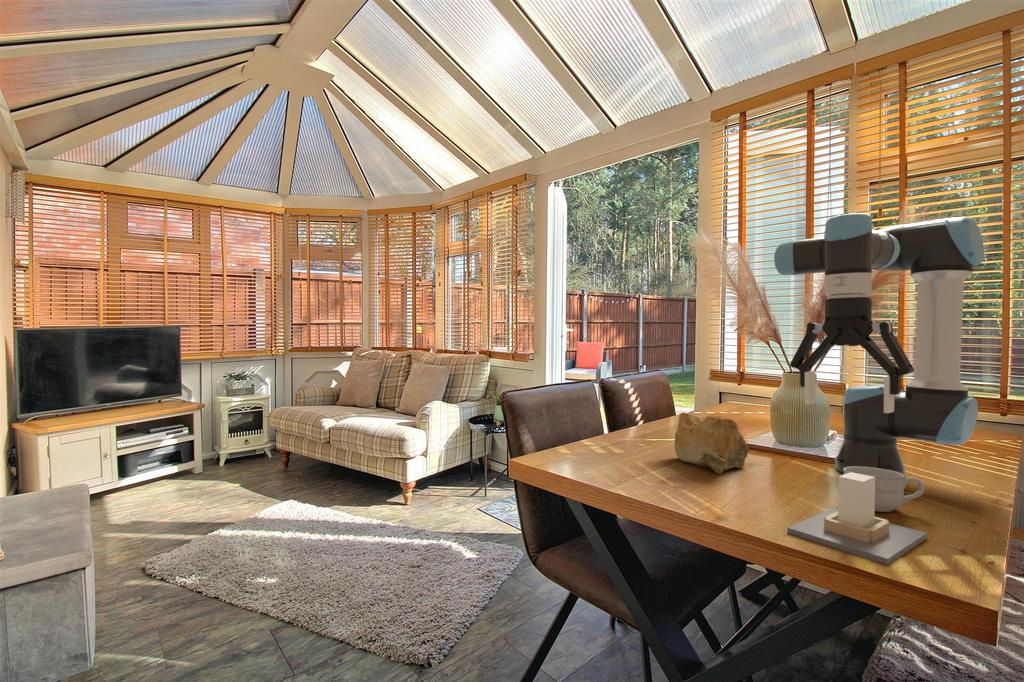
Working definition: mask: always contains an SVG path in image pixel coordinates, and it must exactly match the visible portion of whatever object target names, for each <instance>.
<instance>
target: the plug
mask: <svg viewBox="0 0 1024 682" xmlns="http://www.w3.org/2000/svg"><path fill="white" fill-rule="evenodd" d="M837 510H838V521H840V522H843V523H847V524H850V525H854V526H858V527H861V528H865V529H868V528H870V527H872V526H874V517H875V512H876V511H875V477H873V476H868V475H863V474H858V473H853V472H850V473H847V474H844V473H843V474H841V475H839V476H838V508H837Z"/></svg>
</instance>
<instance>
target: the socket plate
mask: <svg viewBox="0 0 1024 682" xmlns="http://www.w3.org/2000/svg"><path fill="white" fill-rule="evenodd" d="M786 528H787V532H786V533H787V534H790V535H794V536H797V537H799V538H802V539H806V540H809V541H811V542H814V543H817V544H821V545H824V546H826V547H827V546H828V547H830V548H834V549H836V550H837V549H838V550H840V551H843V552H845V553H850V554H852V555H856V556H859V557H861V558H864V559H868V560H871V561H874V562H876V563H880V564H884V565H886V566H888V565H890V563H893V562H894V561H895V560H897V559H898V558H900V557H901V556H903V555H905V554H906V553H909V551H911V550H912V549H914V548H915V547H917V546H919V545H920V544H921V543H923V542H924V541H926V540H927V539H928V533H927V532H924V531H920V530H917V529H912V528H909V527H905V526H901V525H898V524H894V523H890V521H889V520H888V519H885V518H882V517H878V516H874V526H872V527H870V528H868V529H865V528H861V527H858V526H854V525H850V524H847V523H843V522H840V521H838V508H832V507H831V508H829V509H827V510H824V511H823V512H820V513H817V514H815V515H813V516H811V517H808V518H807V519H806V518H805V519H804V520H801V521H798V522H797V523H795V524H793V525H790V526H788V527H786Z"/></svg>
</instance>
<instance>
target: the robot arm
mask: <svg viewBox="0 0 1024 682" xmlns="http://www.w3.org/2000/svg"><path fill="white" fill-rule="evenodd" d="M976 222H977V221H975V220H974V219H972V217H968V216H959V217H958V216H957V217H945V218H940V219H939V218H938V219H934V220H929V221H928V220H927V221H921V222H916V223H909V224H899V225H898V224H897V225H894V226H890V227H885V228H881V229H877V230H874V225H873V220H872V216H871V215H870V214H868V213H865V212H864V213H863V212H859V213H858V212H857V213H847V214H846V213H845V214H840V215H839V214H838V215H836V216H832V217H830V218H829V219H827V220H826V222H825V226H824V227H825V228H824V235H823V237H815V238H809V239H801V240H791V241H787V242H783V243H780V244H779V245H778V246H777V247H776V249H775V251H774V255H773V256H774V258H773V259H774V260H773V261H774V262H773V263H774V267H775V269H776V271H777V273H779V274H780V275H782V276H798V275H806V274H807V275H808V274H809V275H810V274H818V273H824V296H826V297H827V298H826V299H825V300H824V322H823V323H818V322H808V323H807V324H806V332H805V335H804V337H803V339H802V341H801V342H800V344H799V346H798V348H797V350H796V352H795V353H794V356H793V358H792V360H791V361H790V362H789V366H790V367H791V368H794V369H796V370H798V371H799V375H800V377H799V379H800V381H799V383H800V384H799V385H800V387H803V388H804V405H812V404H816V395H815V394H816V388H815V387H816V371H815V370H814V371H813V370H812V368H813V367H814V366H815V365H816V364H817V363H818V362H819V361H821V358H823V357H824V356H825V355H826V354H827V353H828V352H829V351H830V350H831V348H833V347H834V346H836V347H837V346H838V347H839V346H849V347H859V346H860V347H861V348H862V349H864V350H865V351H866V352H867V353H868V354H869V356H870V357H872V358H873V359H874V360H875V362H876V363H877V364H878V365H879V366H881V368H882V369H883V370H884V371H885V372H886V373H887V374H888V375H887V376H883V384H880V385H879V384H878V385H877V384H876V385H863V386H852V387H849V388H847V389H846V390H845V391H844V397H843V403H842V404H843V442H842V444H841V446H840V449H839V450H838V454H837V456H836V458H835V469H836V470H837V471H838V472H840V473H842V474H844V471H843V468H845V467H853V466H855V467H873V468H880V469H886V470H891V471H895V472H899V473H901V474H903V475H904V479H905V478H906V467H905V465H904V462H903V460H902V456H901V453H900V451H899V449H898V438H900V439H908V440H913V441H922V442H929V443H935V444H937V445H951V446H962V445H963V444H966V442H967V441H968V440H970V438H971V436H972V434H973V432H974V429H975V427H976V423H977V419H978V414H979V407H978V406H979V404H978V400H977V399H976V398H974V397H973V396H969V388H967V387H966V386H965V385H964V384H963V383H961V359H962V337H963V336H962V334H963V312H964V311H963V309H964V307H963V305H964V285H965V284H964V283H965V281H966V279H968V278H969V277H971V276H972V275H973V268H974V267H977V266H979V265H981V264H982V263H983V262H984V257H985V248H984V241H983V237H982V233H981V230H980V228H979V225H978V223H976ZM872 271H884V272H885V271H886V272H899V271H901V272H903V271H905V272H906V271H910V278H912V279H913V280H915V282H916V283H917V293H916V294H917V296H916V297H917V298H916V301H917V302H916V321H915V322H916V323H915V345H914V346H915V348H914V349H915V353H914V367H913V365H912V363H911V362H910V360H909V357H908V356H907V355H906V353H905V351H904V349H903V347H902V346H901V344H900V342H899V341H898V339H897V338H896V336H895V334H894V329H893V327H894V326H893V324H892V322H890V321H882V322H879V323H874V322H873V321H872V312H873V311H872V303H873V302H872V298H871V297H869V295H871V294H872V293H873V292H872V290H873V285H872V281H873V280H872V275H873V274H872V273H873V272H872ZM874 330H875V332H876V333H877V335H880V338H881V340H882V341H883V343H884V344H885V346H886V348H887V349H888V351H889V353H890V354H891V357H892V358H893V360H894V361H892V360H891V359H890V358H889V356H887V355H886V353H884V351H883V350H882V349H881V348H880V347H879V346H878V345H877V344H876V342H875V341H874V340H873V339H872V337H870V335H871V334H872V333H873V331H874ZM822 331H823V332H824V334H825V335H826V337H824V339H823V340H821V342H820V344H819V345H818V347H817V348H815V350H813V352H812V353H810V354H809V356H808V357H807V355H808V353H809V351H810V350H811V349H812V347H813V345H814V342H815V341H816V339H817V337H818V335H819V334H821V332H822ZM806 357H807V358H806ZM894 362H895V363H896V364H895V363H894ZM912 373H914V374H913V376H914V377H913V379H912V380H911V381H910V382H908V383H907V384H906V385H905V391H902V384H901V383H902V377H903V376H905V375H908V374H912Z"/></svg>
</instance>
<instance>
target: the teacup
mask: <svg viewBox="0 0 1024 682" xmlns="http://www.w3.org/2000/svg"><path fill="white" fill-rule="evenodd" d="M843 471H844V473H843V475H844V474H847V473H850V472H853V473H858V474H863V475H868V476H873V477H875V512H880V513H889V512H892V511H894V510H895V509H897V508H899V507H900V506H901V505H905V504H907V503H908V501H912V500H915V499H917V498H919V497H920V496H922V495H923V494H924V492H925V488H926V487H925V484H924V483H923V481H922V480H921V479H919V478H918V477H915V476H909V477H908V476H907V477H905V478H904V475H903V474H901V473H899V472H895V471H891V470H886V469H880V468H873V467H855V466H853V467H845V468H843ZM909 483H916V484H917V486H918V490H916V491H915V492H914V493H913V492H912V493H911V494H908V495H904V493H905V489H906V488H907V486H908V484H909Z"/></svg>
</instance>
